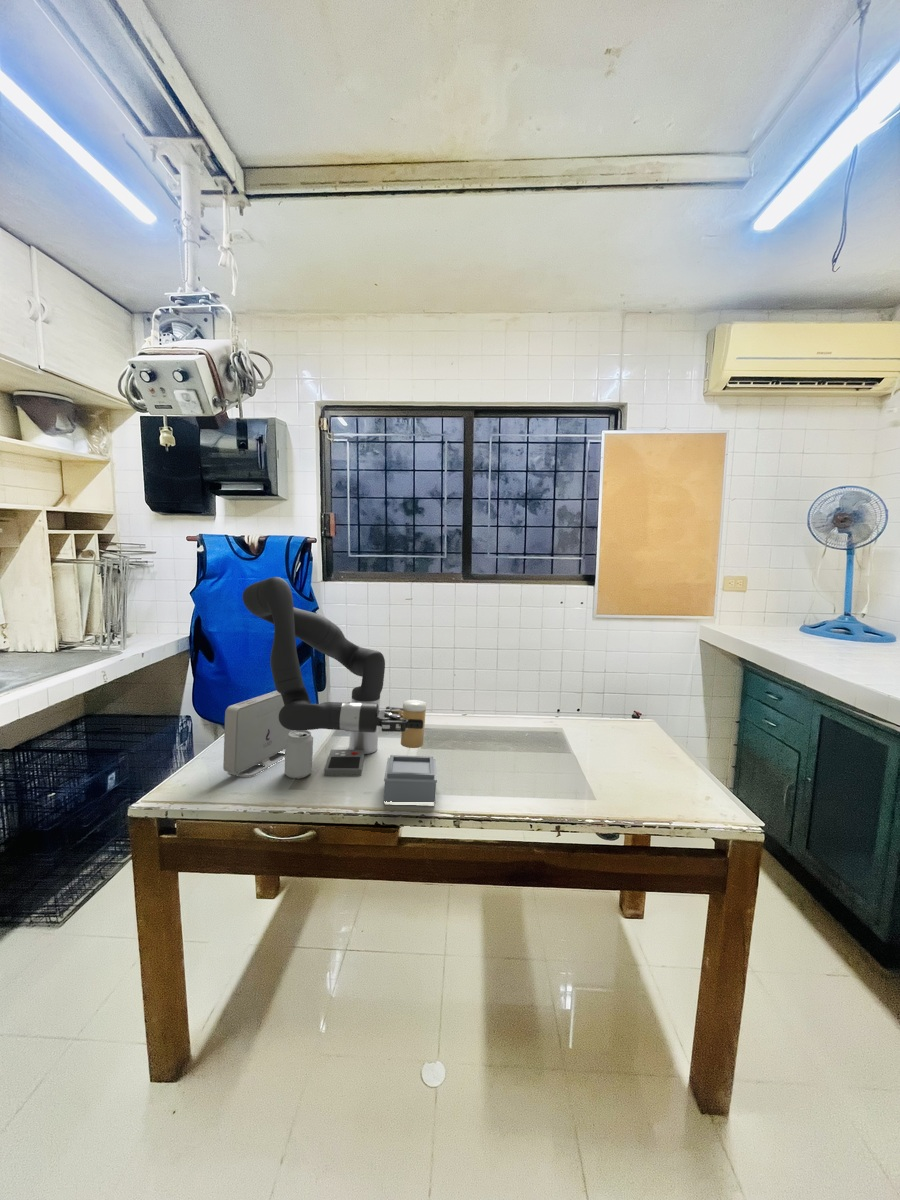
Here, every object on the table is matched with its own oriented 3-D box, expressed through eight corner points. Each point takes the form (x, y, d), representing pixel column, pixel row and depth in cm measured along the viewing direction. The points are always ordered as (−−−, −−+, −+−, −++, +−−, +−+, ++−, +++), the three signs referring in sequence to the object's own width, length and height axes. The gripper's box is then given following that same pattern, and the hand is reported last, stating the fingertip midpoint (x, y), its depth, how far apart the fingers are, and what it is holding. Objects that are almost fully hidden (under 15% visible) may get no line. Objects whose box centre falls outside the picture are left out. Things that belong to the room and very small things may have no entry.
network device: (240, 783, 125) (243, 710, 123) (214, 777, 127) (217, 705, 126) (299, 751, 149) (302, 689, 148) (276, 746, 152) (279, 686, 150)
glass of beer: (400, 739, 127) (403, 699, 126) (423, 740, 127) (426, 700, 126) (399, 747, 120) (402, 705, 120) (423, 748, 121) (426, 707, 120)
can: (303, 781, 128) (305, 738, 127) (278, 777, 130) (280, 735, 129) (316, 770, 135) (318, 730, 135) (293, 767, 137) (294, 727, 136)
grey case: (386, 781, 131) (388, 754, 130) (433, 783, 132) (435, 755, 131) (382, 805, 118) (384, 774, 117) (435, 807, 118) (437, 776, 118)
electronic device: (364, 748, 149) (361, 768, 134) (364, 756, 149) (361, 777, 134) (331, 748, 147) (324, 768, 133) (330, 756, 148) (323, 777, 133)
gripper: (356, 711, 115) (424, 714, 116) (363, 695, 129) (423, 699, 131) (354, 740, 116) (422, 743, 117) (361, 722, 130) (422, 725, 131)
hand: (422, 720), depth 124 cm, fingers closed on glass of beer, 6 cm apart
